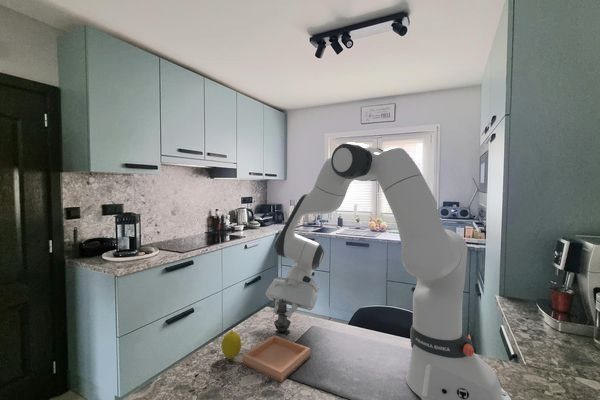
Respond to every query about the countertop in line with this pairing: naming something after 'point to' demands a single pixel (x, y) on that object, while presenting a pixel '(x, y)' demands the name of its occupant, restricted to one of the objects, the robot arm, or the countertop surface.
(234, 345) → the lemon
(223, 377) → the countertop surface
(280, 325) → the dark grey chess piece
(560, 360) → the countertop surface
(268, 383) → the countertop surface
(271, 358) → the tray
